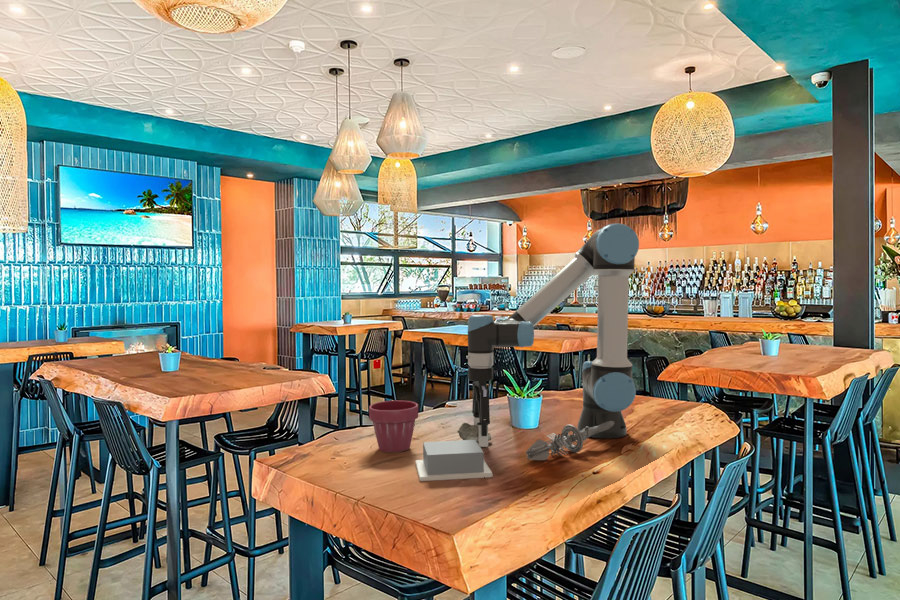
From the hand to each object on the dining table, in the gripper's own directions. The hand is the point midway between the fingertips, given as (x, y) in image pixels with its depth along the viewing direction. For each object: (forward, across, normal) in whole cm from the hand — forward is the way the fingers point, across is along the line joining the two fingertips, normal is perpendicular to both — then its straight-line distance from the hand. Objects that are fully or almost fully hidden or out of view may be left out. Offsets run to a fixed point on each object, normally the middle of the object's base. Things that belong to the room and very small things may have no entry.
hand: (480, 442), depth 175 cm
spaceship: (0, +13, +24) cm, 27 cm away
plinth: (0, +23, -12) cm, 26 cm away
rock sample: (+1, 0, -1) cm, 1 cm away
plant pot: (+1, 0, -26) cm, 26 cm away
